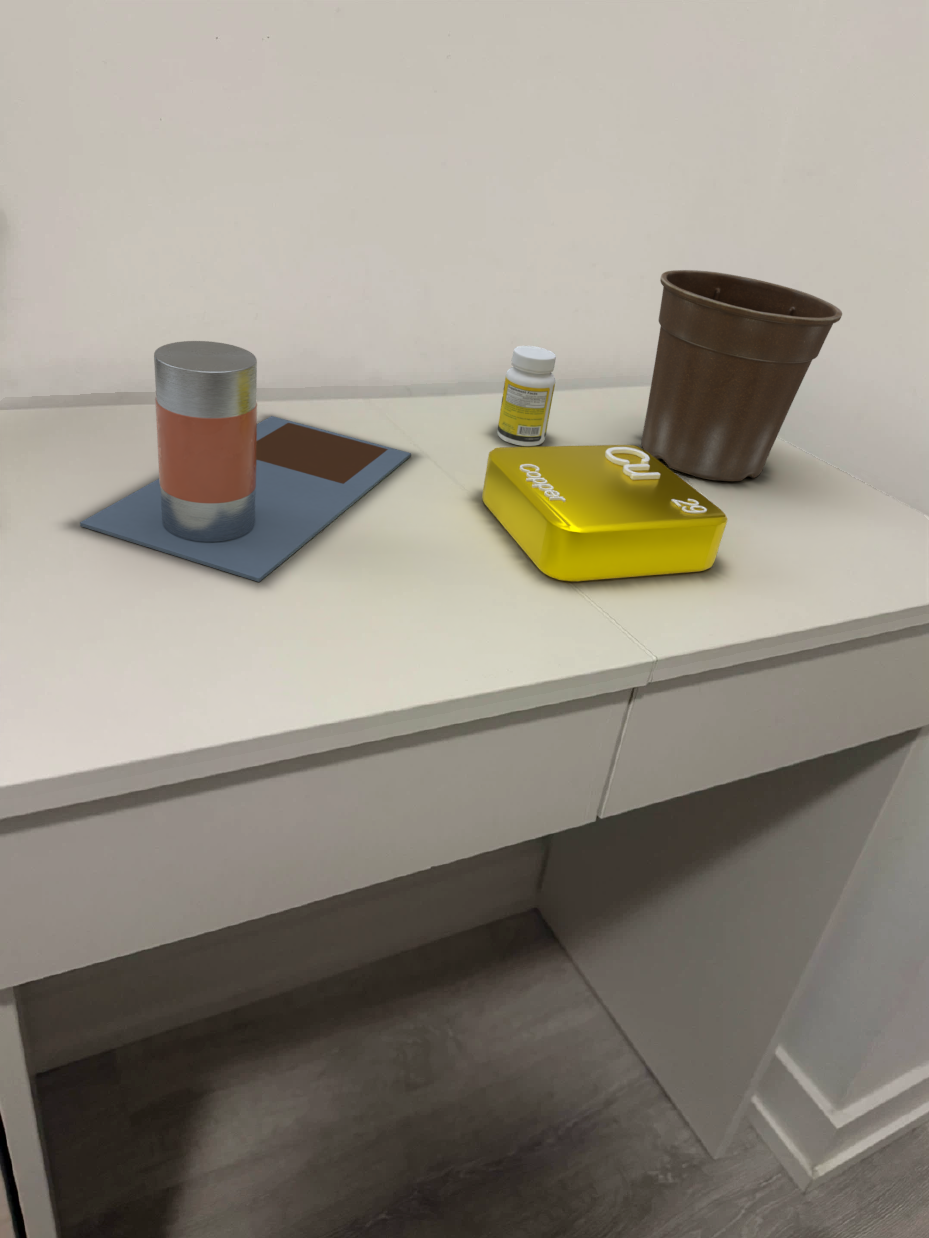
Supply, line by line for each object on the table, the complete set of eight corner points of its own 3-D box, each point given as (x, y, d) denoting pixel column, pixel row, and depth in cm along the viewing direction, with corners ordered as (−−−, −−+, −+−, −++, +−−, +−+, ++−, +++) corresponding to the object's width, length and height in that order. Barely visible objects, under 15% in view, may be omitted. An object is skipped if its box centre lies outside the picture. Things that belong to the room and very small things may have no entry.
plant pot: (756, 437, 98) (806, 283, 90) (808, 501, 84) (872, 327, 76) (609, 419, 97) (645, 260, 88) (637, 482, 83) (684, 301, 74)
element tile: (473, 494, 76) (481, 440, 73) (628, 487, 81) (640, 437, 79) (549, 586, 65) (562, 525, 62) (723, 571, 70) (741, 515, 67)
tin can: (142, 526, 63) (131, 356, 57) (195, 494, 69) (191, 334, 62) (223, 552, 62) (222, 379, 55) (272, 516, 67) (276, 355, 61)
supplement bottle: (513, 425, 91) (527, 341, 87) (553, 440, 89) (570, 355, 85) (486, 435, 88) (500, 349, 83) (527, 451, 86) (543, 363, 81)
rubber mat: (80, 526, 63) (79, 522, 63) (271, 418, 84) (271, 415, 84) (259, 582, 60) (259, 578, 60) (410, 456, 81) (411, 453, 81)
